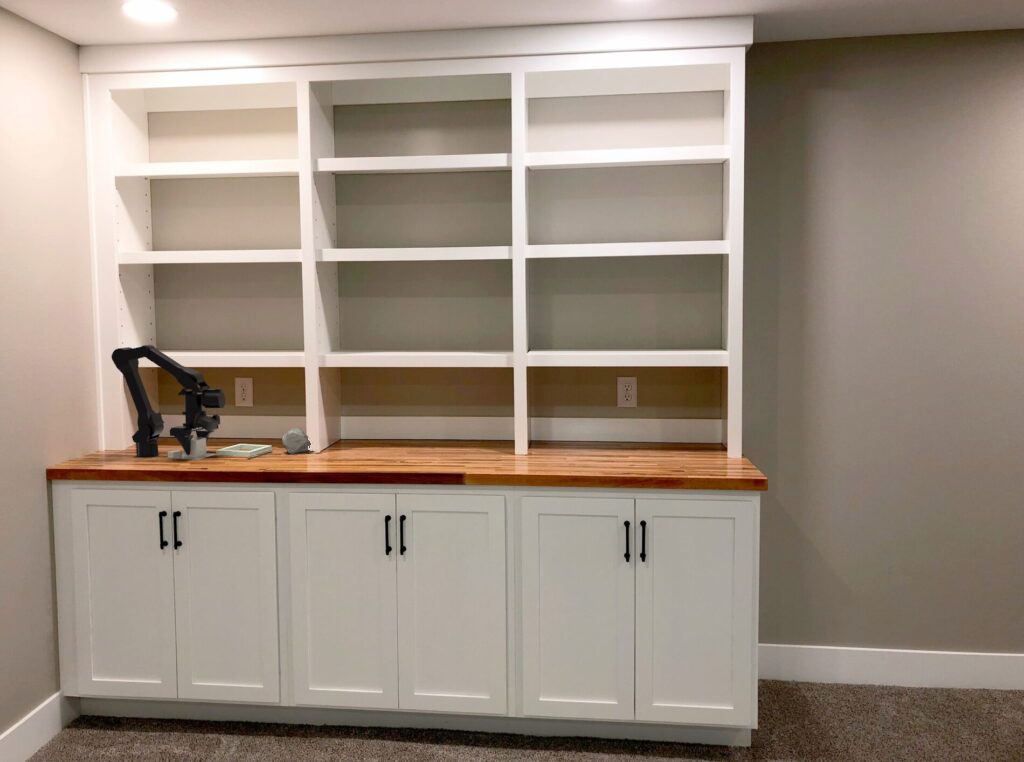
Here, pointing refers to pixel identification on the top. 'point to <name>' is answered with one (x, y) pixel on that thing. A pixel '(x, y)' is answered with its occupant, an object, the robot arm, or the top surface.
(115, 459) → the top surface
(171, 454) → the slate board
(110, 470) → the top surface
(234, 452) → the bin
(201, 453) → the large white cube
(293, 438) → the stone
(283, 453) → the top surface
